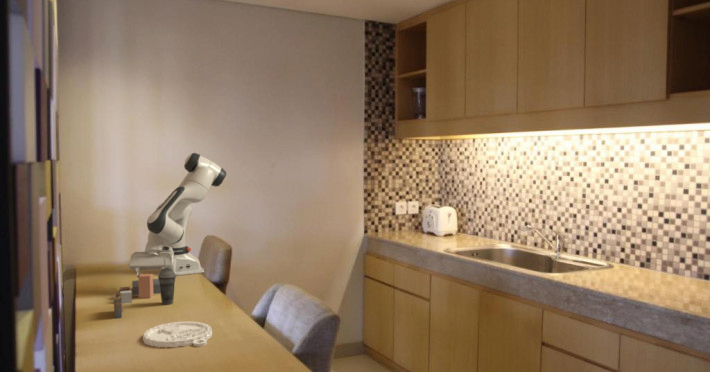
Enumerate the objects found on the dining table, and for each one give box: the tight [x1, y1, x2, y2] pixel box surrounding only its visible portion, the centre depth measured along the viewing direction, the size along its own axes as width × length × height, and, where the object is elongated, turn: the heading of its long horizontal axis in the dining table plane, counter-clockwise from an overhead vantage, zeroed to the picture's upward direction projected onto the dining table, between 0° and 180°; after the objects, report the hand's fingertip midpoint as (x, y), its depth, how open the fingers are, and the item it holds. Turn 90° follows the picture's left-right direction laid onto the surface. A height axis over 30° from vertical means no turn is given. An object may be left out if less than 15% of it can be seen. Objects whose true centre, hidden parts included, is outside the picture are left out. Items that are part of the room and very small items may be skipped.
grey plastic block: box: [120, 289, 133, 304], centre depth 248 cm, size 4×4×4 cm
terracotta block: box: [137, 273, 154, 299], centre depth 257 cm, size 5×5×10 cm
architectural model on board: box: [113, 292, 123, 320], centre depth 229 cm, size 11×3×10 cm, turn 21°
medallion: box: [142, 320, 213, 349], centre depth 201 cm, size 24×27×2 cm
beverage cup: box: [157, 258, 177, 306], centre depth 245 cm, size 7×7×20 cm
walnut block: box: [118, 286, 131, 294], centre depth 255 cm, size 4×4×4 cm
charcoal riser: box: [131, 278, 161, 296], centre depth 268 cm, size 13×13×4 cm
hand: (149, 276), depth 259 cm, fingers open, 8 cm apart
